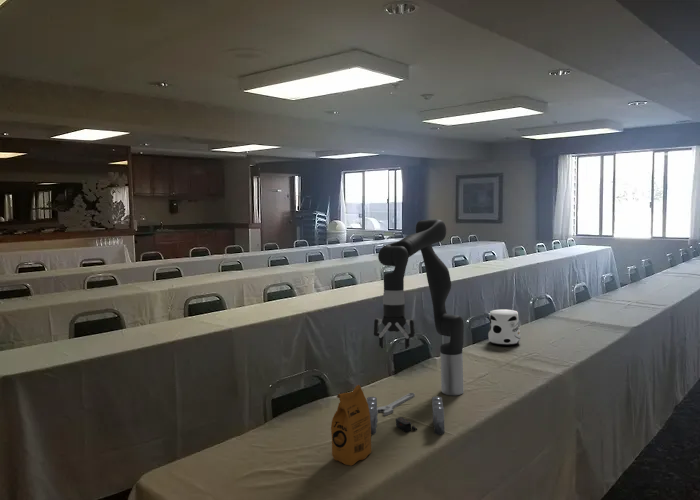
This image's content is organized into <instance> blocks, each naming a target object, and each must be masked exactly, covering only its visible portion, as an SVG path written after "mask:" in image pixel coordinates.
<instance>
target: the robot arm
mask: <svg viewBox="0 0 700 500" xmlns="http://www.w3.org/2000/svg"><path fill="white" fill-rule="evenodd" d="M446 235H447V227H446V224H445V222H444V220H441V219H422V220H418V221H417V222H416V225H415V233H412V234H409V235H407V236H404V237H403V238H402V239H400V240H399V241H395V242H392V243H388V244H386V245H384V246H382V247H381V248H380V249H379V252H378V253H377V254H378V255H377V259H378V261H379V263H380V264H381V265H383V266H386V267H394V269H393V271H392V272H387V273H385V274H384V275H383V295H382V305H383V307H382V308H383V309H382V310H383V311H382V313H383V315H382V316H383V317H382V318H378V317H376V318H375V319H374V323H373V336H374V337H378V341H379V344H378V346H379V347H380V348H381V349H384V348H385V337H384V335H385V334H386V332H387V331H388V332H390V333H392V332H395V333H396V332H397V333H399V332H401V334H402V335H403V336H404V346H405V347H404V349H405V350H407V349H408V348H410V346H411V345H410V343H411V342H410V341H411V338H413V337H415V335H416V334H415V333H416V332H415V320H414V318H411V319H406V314H405V313H406V311H405V310H406V309H405V308H406V307H405V306H406V305H405V301H406V300H405V289H404V288H405V287H404V285H405V284H404V282H405V281H404V279H405V273H406V270H407V266H408V262H409V258H410V257H412V256H414V255H415V254H416V253H418V252H419V251H420V253H421V256H422V260H423V263H424V270H425V273H426V279H427V283H428V288H429V292H430V297H431V302H432V303H431V304H432V308H433V309H432V311H433V319H434V321H433V322H434V328H435V330H436V332H437V333H438V335H439V336H443V337H449V338H450V339H449V342H445V343H442V344H441V345H440V348H439V349H440V350H439V351H440V353H439V354H440V381H441V382H440V384H441V385H440V386H441V393H442V394H443V395H447V396H459V395H462V394H464V361H463V359H464V358H463V357H464V356H463V348H464V341H465V340H464V339H465V338H464V337H465V336H464V335H465V323H464V319H463V318H462V316H461V315H458V314H457V315H456V314H449V313H448V312H447V311H446V302H447V298H448V296H449V294H450V292H451V290H452V280H451V275H450V271H449V268H448V267H447V266H446V264H445V263H444V262H443V261H442V259H441V258H439V256H438V255H437V254H436V252H435V250H434V248H433V245H434V244H437V243H440V242H443V240H444V239H445V238H446ZM381 324H382V325H383V326H384V328H383V329H382V331H381V332H379V326H380V325H381ZM406 324H407V325H408V326H409V328H410V329H409V332H410V333H409V332H408V330H407V329H406V327H405V325H406Z"/></svg>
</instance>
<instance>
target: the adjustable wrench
mask: <svg viewBox="0 0 700 500" xmlns="http://www.w3.org/2000/svg"><path fill="white" fill-rule="evenodd" d="M415 396H416V394H415V392H409V393H407V394H405V395H403V396H401V397H400V398H398V399H396V400H395V401H393V402H391V403H389V404H387V405H383V406H377V415H378V414H379V413H383V416H388V415H391V414H393V413H394V409H395V408H397V407H398V406H400V405H402V404H405V403H406V402H407V401H409V400H412V399H413V398H415Z"/></svg>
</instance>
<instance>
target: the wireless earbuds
mask: <svg viewBox="0 0 700 500" xmlns="http://www.w3.org/2000/svg"><path fill="white" fill-rule="evenodd" d="M395 427H396V428H397V429H399V430H400V431H403V432H404V433H410V432H412V431H413V432H415V431H417V430H418V427H416V426H415V425H412V422H411V421H409V420H407V419H405V418H404V417H401V416H400V417H397V418H395Z"/></svg>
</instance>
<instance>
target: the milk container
mask: <svg viewBox="0 0 700 500" xmlns="http://www.w3.org/2000/svg"><path fill="white" fill-rule="evenodd" d="M487 336H488V340H489V342H490V343H492V344H493V345H497V346H512V345H513V346H514V345H517V344H519V343H520V341H521V331H520V327H519V312H518V311H517V310H513V309H506V308H505V309H493V310H490V311H489V329H488V334H487Z"/></svg>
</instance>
